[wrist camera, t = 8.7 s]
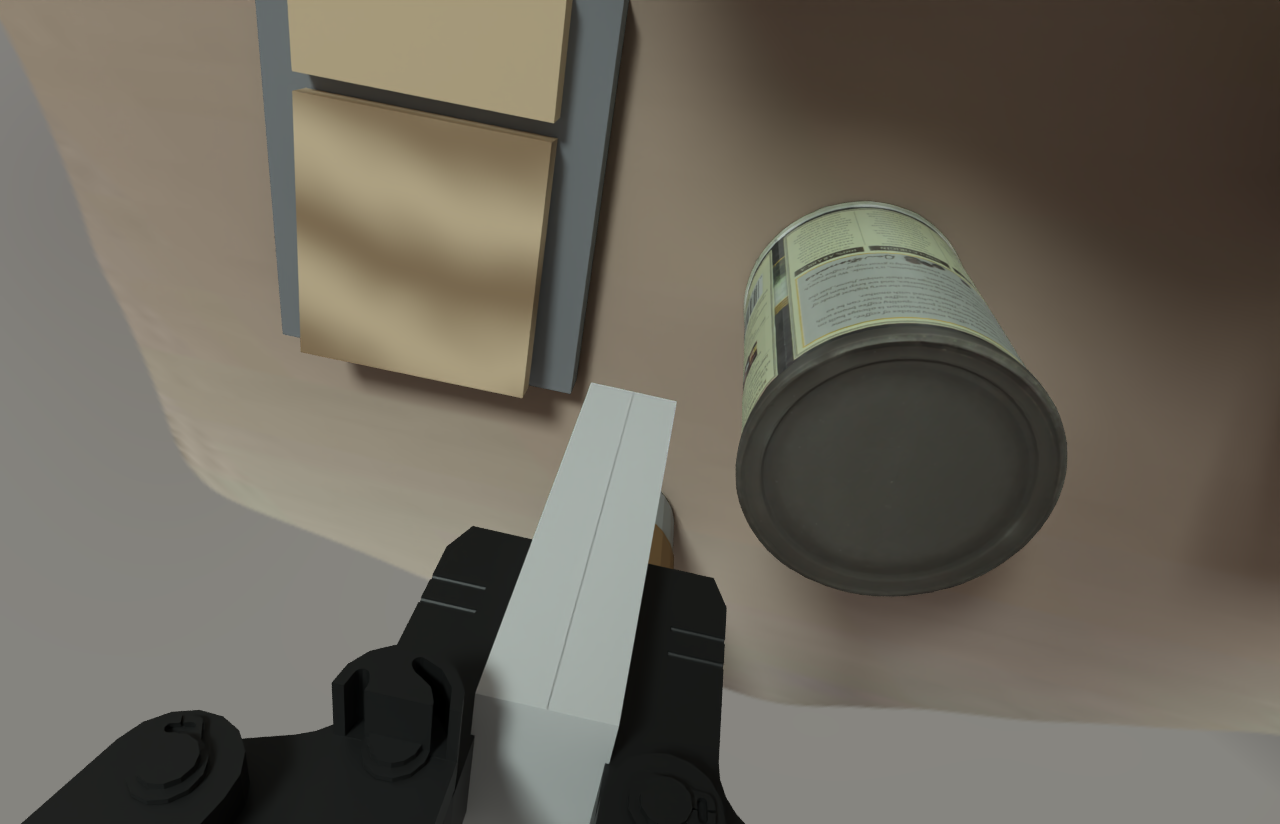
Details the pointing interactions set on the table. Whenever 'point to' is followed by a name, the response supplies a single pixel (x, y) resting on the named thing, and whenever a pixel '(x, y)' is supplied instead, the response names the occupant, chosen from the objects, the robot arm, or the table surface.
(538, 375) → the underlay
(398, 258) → the plank
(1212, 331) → the table surface
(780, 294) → the coffee can
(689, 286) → the table surface
